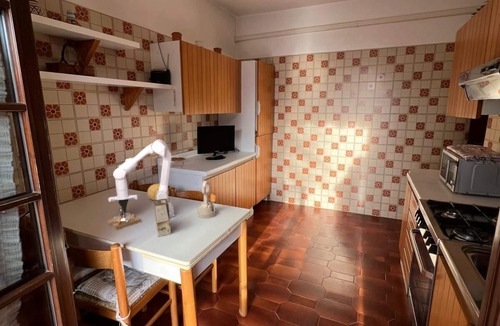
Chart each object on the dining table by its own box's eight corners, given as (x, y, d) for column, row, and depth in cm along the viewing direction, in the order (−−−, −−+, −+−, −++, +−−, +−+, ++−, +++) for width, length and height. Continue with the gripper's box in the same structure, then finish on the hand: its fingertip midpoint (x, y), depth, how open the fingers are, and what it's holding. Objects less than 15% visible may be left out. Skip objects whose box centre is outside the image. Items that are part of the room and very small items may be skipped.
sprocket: (130, 213, 153) (129, 205, 152) (137, 219, 145) (136, 211, 144) (110, 219, 146) (109, 210, 145) (116, 225, 139) (115, 216, 137)
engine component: (195, 218, 151) (211, 219, 149) (193, 183, 147) (210, 184, 145) (202, 210, 161) (218, 211, 159) (200, 178, 157) (216, 179, 155)
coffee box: (171, 234, 132) (168, 203, 129) (157, 236, 130) (155, 206, 126) (169, 226, 140) (166, 198, 137) (156, 229, 138) (153, 199, 134)
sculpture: (154, 203, 175) (152, 187, 173) (145, 199, 183) (143, 184, 180) (169, 198, 184) (168, 183, 181) (160, 194, 191) (158, 180, 189)
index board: (141, 221, 147) (140, 214, 146) (117, 230, 137) (116, 222, 136) (130, 215, 155) (130, 208, 154) (107, 222, 146) (106, 215, 145)
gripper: (137, 185, 151) (139, 208, 154) (109, 188, 148) (112, 210, 151) (135, 189, 145) (138, 212, 148) (106, 192, 141) (109, 215, 144)
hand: (125, 212), depth 149 cm, fingers closed
